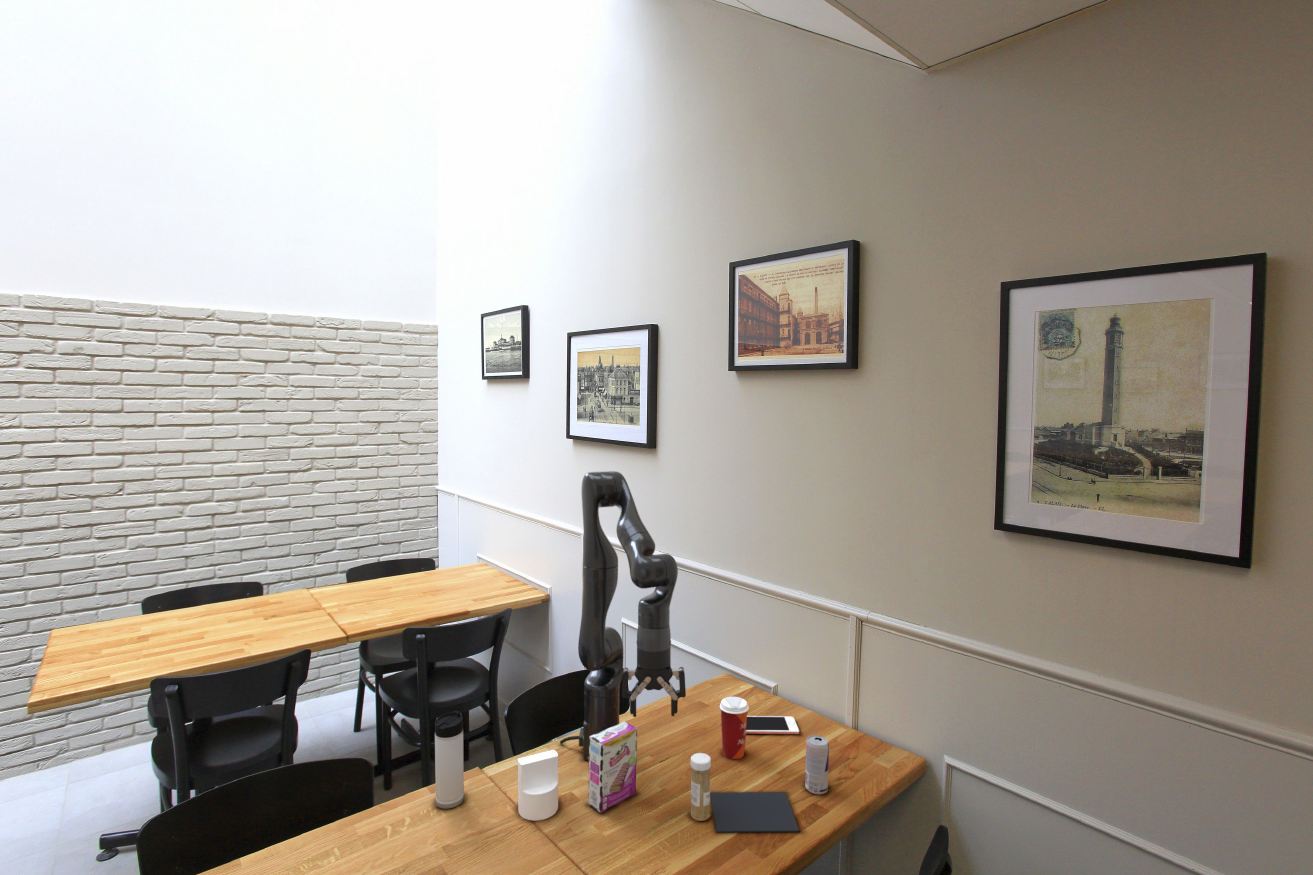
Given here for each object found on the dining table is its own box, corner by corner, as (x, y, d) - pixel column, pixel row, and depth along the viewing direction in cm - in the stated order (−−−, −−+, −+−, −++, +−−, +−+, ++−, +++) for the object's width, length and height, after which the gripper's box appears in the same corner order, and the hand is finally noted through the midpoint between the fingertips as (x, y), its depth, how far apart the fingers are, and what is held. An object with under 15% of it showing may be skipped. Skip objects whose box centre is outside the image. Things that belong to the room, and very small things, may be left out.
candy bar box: (601, 814, 147) (601, 744, 146) (587, 804, 151) (587, 735, 150) (637, 794, 155) (638, 726, 154) (623, 785, 159) (624, 719, 158)
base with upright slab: (524, 824, 143) (524, 771, 143) (513, 802, 151) (513, 752, 151) (563, 813, 148) (563, 761, 147) (550, 792, 156) (550, 743, 155)
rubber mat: (716, 832, 141) (716, 830, 141) (710, 793, 155) (710, 792, 155) (799, 832, 142) (799, 830, 142) (785, 793, 156) (785, 791, 155)
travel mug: (470, 795, 154) (469, 712, 153) (452, 811, 148) (451, 725, 147) (447, 789, 156) (447, 708, 155) (429, 805, 150) (428, 721, 149)
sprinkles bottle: (713, 820, 145) (713, 761, 145) (693, 822, 144) (693, 763, 144) (706, 807, 150) (707, 750, 149) (687, 810, 149) (688, 753, 148)
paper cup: (749, 761, 169) (750, 708, 169) (720, 760, 169) (720, 708, 169) (746, 745, 177) (746, 695, 176) (717, 745, 177) (718, 694, 177)
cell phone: (799, 734, 183) (799, 731, 183) (735, 733, 183) (735, 730, 183) (793, 719, 192) (793, 716, 192) (732, 718, 192) (732, 715, 192)
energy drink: (829, 785, 159) (830, 737, 158) (825, 797, 154) (826, 747, 153) (807, 779, 161) (808, 732, 161) (803, 791, 156) (803, 742, 156)
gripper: (684, 637, 149) (684, 706, 150) (622, 637, 149) (622, 707, 150) (686, 649, 142) (686, 722, 142) (621, 650, 141) (621, 723, 142)
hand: (653, 714), depth 146 cm, fingers open, 8 cm apart
